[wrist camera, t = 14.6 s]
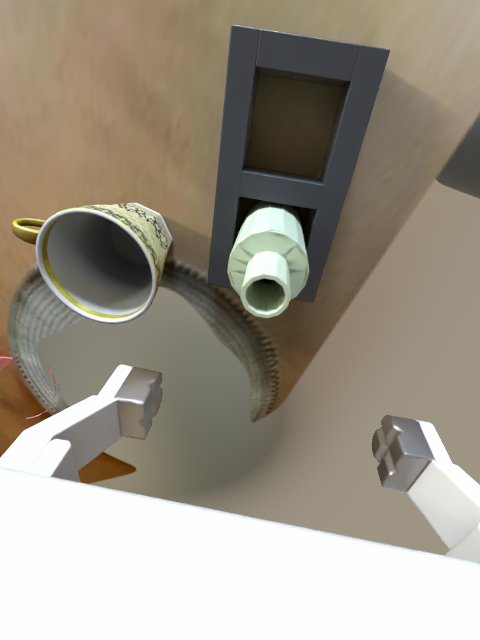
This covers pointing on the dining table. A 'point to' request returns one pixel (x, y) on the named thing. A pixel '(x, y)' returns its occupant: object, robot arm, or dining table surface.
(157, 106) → the dining table surface
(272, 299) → the bottle
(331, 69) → the holder
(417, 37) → the dining table surface
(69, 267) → the ceramic cup
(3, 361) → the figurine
